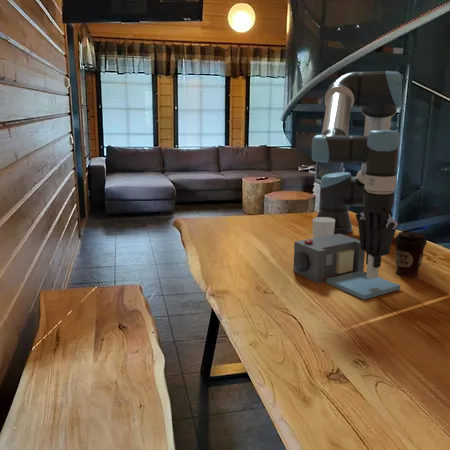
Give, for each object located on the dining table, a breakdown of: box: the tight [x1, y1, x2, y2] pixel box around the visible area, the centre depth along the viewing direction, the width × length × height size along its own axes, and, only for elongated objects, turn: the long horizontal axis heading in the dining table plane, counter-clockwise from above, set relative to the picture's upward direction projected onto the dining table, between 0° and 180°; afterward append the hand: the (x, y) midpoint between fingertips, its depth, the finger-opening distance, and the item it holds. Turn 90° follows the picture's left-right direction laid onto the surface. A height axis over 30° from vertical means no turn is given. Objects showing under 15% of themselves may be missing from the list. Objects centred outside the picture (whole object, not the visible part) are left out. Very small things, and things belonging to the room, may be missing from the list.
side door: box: [325, 270, 401, 300], centre depth 128 cm, size 14×2×14 cm
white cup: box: [312, 216, 335, 238], centre depth 166 cm, size 8×8×10 cm
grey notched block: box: [292, 234, 366, 284], centre depth 138 cm, size 19×11×11 cm, turn 120°
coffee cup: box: [394, 231, 428, 279], centre depth 136 cm, size 9×8×13 cm
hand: (372, 277), depth 125 cm, fingers closed
